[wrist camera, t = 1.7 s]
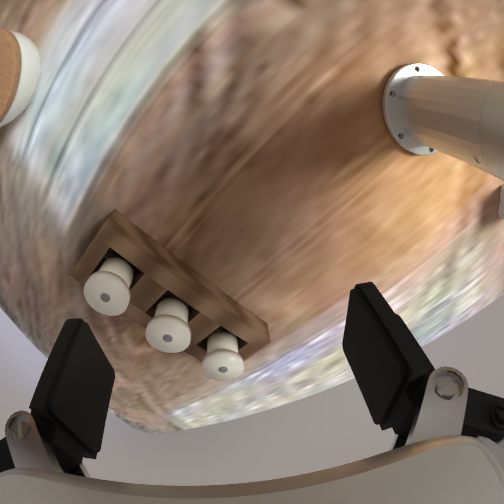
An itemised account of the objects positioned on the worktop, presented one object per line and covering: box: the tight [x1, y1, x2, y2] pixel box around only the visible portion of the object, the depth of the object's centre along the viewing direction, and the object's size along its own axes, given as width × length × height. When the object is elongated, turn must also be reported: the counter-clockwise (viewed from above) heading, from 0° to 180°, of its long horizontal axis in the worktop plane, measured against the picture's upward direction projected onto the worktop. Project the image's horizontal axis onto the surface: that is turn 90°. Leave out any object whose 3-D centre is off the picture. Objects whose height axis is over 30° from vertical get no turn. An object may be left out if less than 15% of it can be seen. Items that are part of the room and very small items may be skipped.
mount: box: [71, 209, 271, 361], centre depth 40 cm, size 28×10×4 cm, turn 44°
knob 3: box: [202, 331, 244, 381], centre depth 40 cm, size 6×6×5 cm
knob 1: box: [84, 257, 134, 316], centre depth 33 cm, size 6×6×5 cm
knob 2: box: [145, 298, 191, 353], centre depth 36 cm, size 6×6×5 cm
